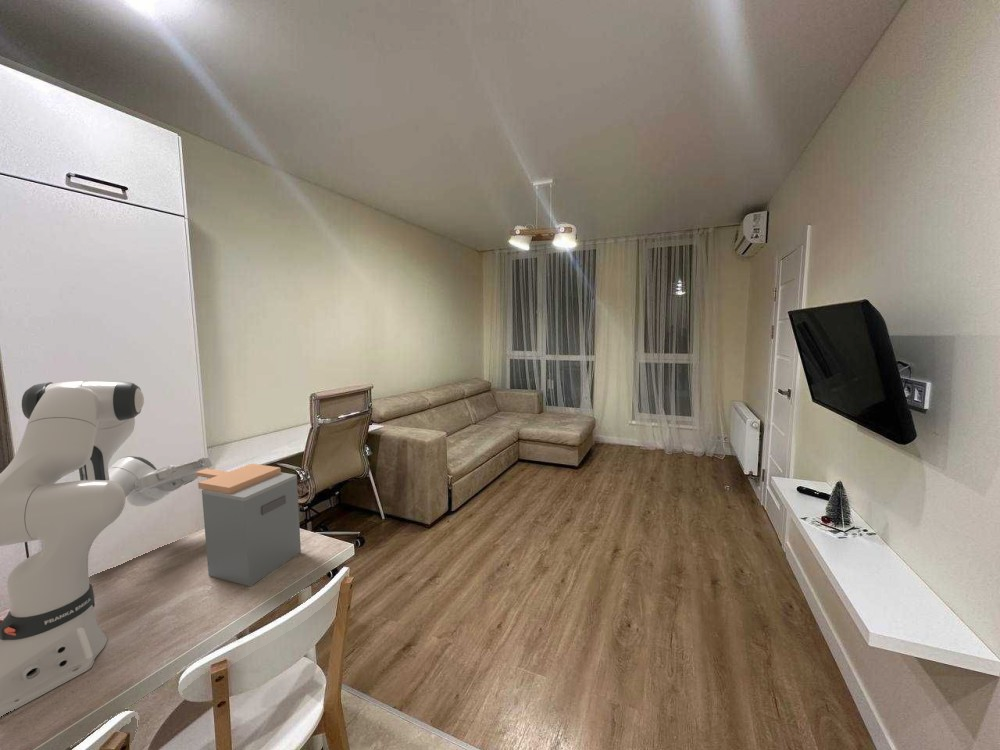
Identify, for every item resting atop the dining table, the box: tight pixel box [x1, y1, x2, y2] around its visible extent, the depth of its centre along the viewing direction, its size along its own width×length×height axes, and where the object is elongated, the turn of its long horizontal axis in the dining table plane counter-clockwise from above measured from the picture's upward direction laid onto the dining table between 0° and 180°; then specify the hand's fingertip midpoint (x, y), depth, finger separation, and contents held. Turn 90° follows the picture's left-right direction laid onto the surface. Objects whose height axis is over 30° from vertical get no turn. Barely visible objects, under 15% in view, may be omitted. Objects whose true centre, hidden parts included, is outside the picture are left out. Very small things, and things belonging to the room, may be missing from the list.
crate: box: [201, 471, 302, 587], centre depth 117 cm, size 18×16×26 cm
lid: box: [195, 463, 282, 494], centre depth 119 cm, size 17×23×2 cm
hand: (189, 464), depth 124 cm, fingers open, 8 cm apart
